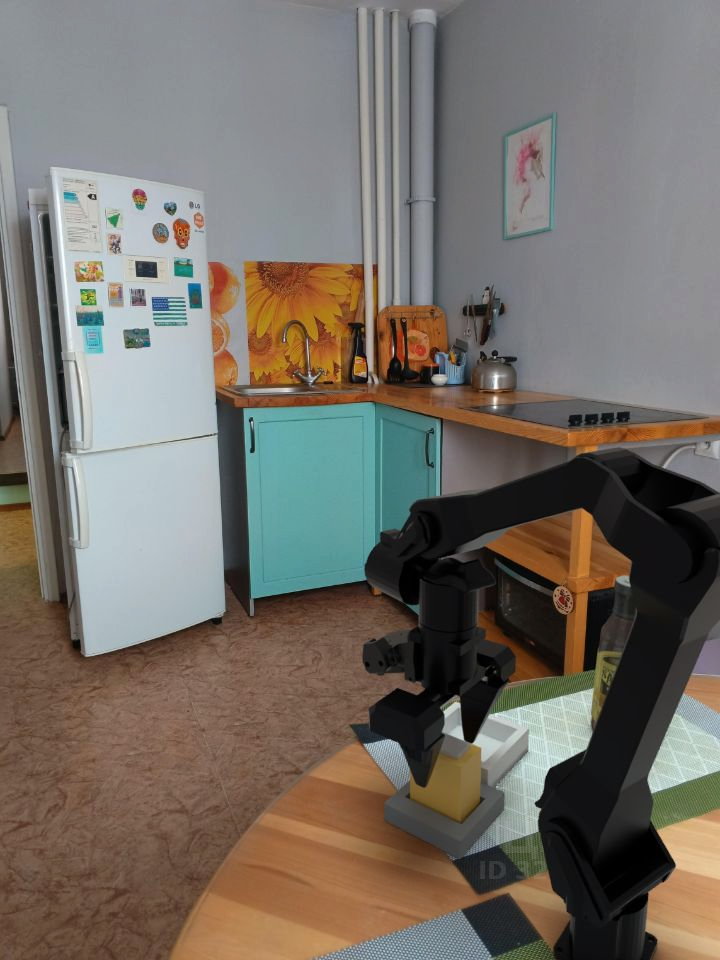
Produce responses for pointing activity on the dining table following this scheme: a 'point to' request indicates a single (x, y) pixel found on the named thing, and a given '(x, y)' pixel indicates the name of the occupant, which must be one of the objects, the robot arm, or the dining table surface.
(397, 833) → the dining table surface
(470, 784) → the block
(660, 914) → the dining table surface
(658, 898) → the dining table surface
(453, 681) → the robot arm
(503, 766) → the tray
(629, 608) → the sauce bottle
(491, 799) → the grey square frame
